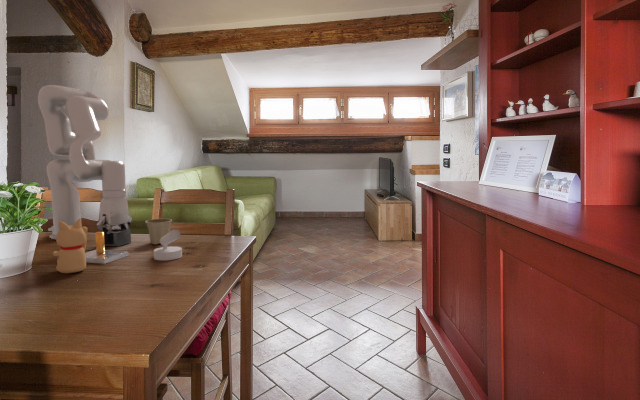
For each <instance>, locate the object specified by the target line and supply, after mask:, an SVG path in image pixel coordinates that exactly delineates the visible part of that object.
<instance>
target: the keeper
mask: <svg viewBox="0 0 640 400" xmlns="http://www.w3.org/2000/svg"><path fill="white" fill-rule="evenodd" d="M94 234H95V235H94V236H95V248H96V249H94V250H90V251H87V252H86V251H85V255H86V263H89V264H100V265H101V264H103V265H105V264H107V263H111V262H113V261H114V262H115V261H117V260H120V259H123V258H127V257H128V256H129V251H128V250H126V251H125V250H112V249H106V245H105V242H104V232H101V231H96V232H95V233H94Z"/></svg>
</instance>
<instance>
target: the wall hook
mask: <svg viewBox="0 0 640 400" xmlns="http://www.w3.org/2000/svg"><path fill="white" fill-rule="evenodd" d="M180 237H181V233H180V231H179V230H178V229H173V230H170V231H169V233H168V234H166V235H165V236H163V237H162V238H161V239H160V243H161V244H160V243H159V244H160V245H162V247H157V248H155V249H153V259H154V260H155V261H172V260H176V259H179V258H182V257H183V248H182V247H181V246H168V245H169V244H172V243H173V242H175V241H177V240H178V239H180Z"/></svg>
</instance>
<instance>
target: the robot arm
mask: <svg viewBox="0 0 640 400" xmlns="http://www.w3.org/2000/svg"><path fill="white" fill-rule="evenodd" d="M37 103H38V107H39V110H40V112H41V115H42V118H43V120H44V127H45V133H46V140H47V146H48V150H49V152H50V153H51V154H52V155H54V156H57V157H58V156H61V157H68V158H67V159H66V158H57V159H53V160H51V161H49V163H48V164H46V175H47V178H48V181H49V186H50V187H49V188H50V195H51V196H50V198H51V209H52V210H54V211H55V212H53V211H52V223H53V225H51V227H49V228H48V229H47V231H48V232H52V234H50V235H49V239H50V238H51V239H50V240H56V238H57V234H58V232H59V230H60V229H59V221H62V222H64V223H65V224H67V225H68V226H72V225H74V223H75V222H76V221H77V220H78V219H79V218H80V219H81V220H82V214H81V211H82V210H81V197H80V191H79V190H78V189H77V187H76V186H75V185H74V183H86V182H93V181H101V189H102V198H101V199H100V203H99V209H98V211H99V214H98V219H99V220H98V222H97V223H96V226H97V228H98V229H99V231H100V232H101V231H102V232H104V242H105V244H109V245H111V244H112V234H111V230H112V229H113V227H115V226H119V229H130V225H131V223H132V220H133V217H132V216H131V215H130V211H129V203H128V199H127V195H126V193H127V190H126V168H125V167H126V166H125V163H124V161H120V160H109V159H96V155H95V154H96V153H95V148H94V143H93V141H95V140H97V139H99V138H100V137H101V135H102V130H101V129H100V126H99V123H98V121H104V120H106V119H108V116H109V108H108V105H107V103H106V102H105V101H104V99H102V98H100V97H99V96H97V95H96V94H93V93H92V92H90V91H88V90H85V89H81V88H76V87H75V88H74V87H69V86H64V85H58V84H57V85H56V84H48V85H43V86H42V87H41V88H40V89H39V91H38V94H37ZM62 109H66V112H67V114H68V116H67V114H66V113H65V112H64V111H63V110H62ZM72 129H73V130H72ZM82 227H83V226H82ZM82 227H81V228H82Z"/></svg>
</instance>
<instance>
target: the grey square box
mask: <svg viewBox="0 0 640 400" xmlns="http://www.w3.org/2000/svg"><path fill="white" fill-rule="evenodd" d="M100 232H102V231H101V230H100ZM131 232H132V231H131V229H130V228H129V229H121V228H120V227H119V228H117V227H115V228H112V230H111V234H112V244H111V245H109V244H105V246H109V247H119V246H123V245H127V244H129V243H132V236H131V235H132V233H131Z"/></svg>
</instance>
